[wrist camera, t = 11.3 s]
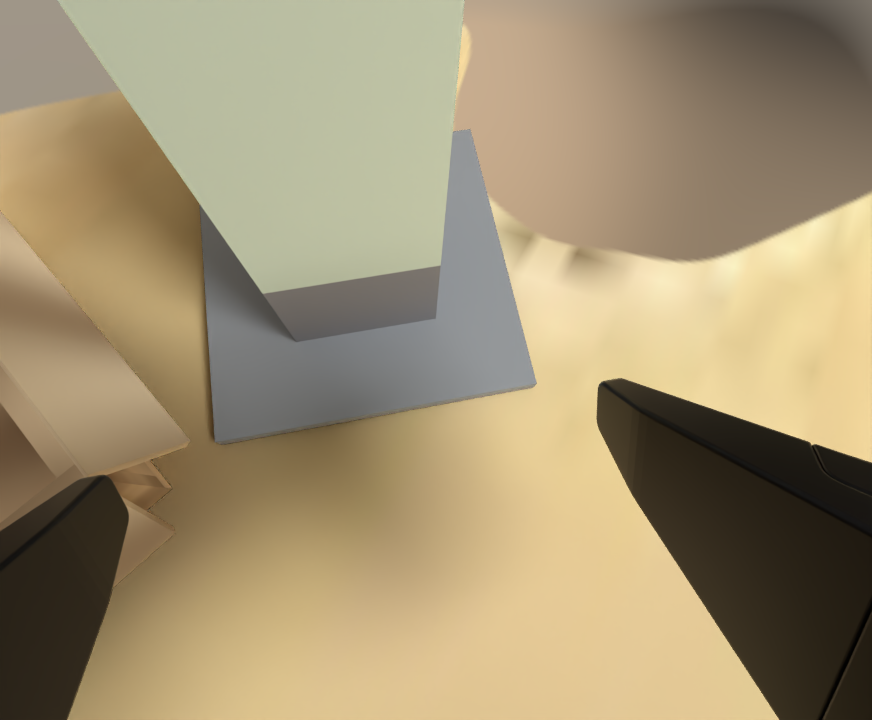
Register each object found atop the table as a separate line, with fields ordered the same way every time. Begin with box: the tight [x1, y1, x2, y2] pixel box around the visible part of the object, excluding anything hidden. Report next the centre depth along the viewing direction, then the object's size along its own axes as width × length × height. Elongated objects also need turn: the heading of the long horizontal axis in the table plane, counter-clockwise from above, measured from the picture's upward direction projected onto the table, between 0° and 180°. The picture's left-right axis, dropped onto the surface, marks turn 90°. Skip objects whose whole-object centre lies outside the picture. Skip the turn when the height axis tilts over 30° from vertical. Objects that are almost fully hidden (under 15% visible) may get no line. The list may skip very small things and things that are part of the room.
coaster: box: [200, 129, 537, 445], centre depth 19 cm, size 11×11×1 cm
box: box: [57, 0, 465, 342], centre depth 12 cm, size 5×5×13 cm
